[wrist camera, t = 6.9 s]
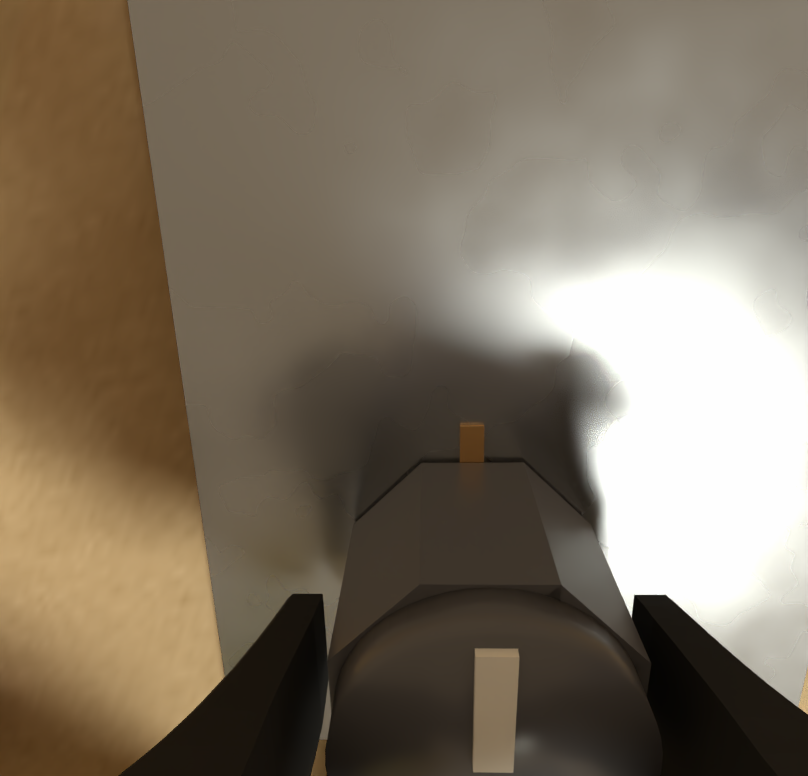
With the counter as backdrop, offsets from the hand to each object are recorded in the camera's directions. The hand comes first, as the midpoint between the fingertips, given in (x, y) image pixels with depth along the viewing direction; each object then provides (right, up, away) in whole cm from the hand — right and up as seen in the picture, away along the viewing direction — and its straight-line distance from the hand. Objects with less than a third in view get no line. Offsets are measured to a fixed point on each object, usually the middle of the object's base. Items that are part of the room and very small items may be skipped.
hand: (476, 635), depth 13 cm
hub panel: (+1, +5, +1) cm, 5 cm away
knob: (0, +1, +2) cm, 2 cm away
